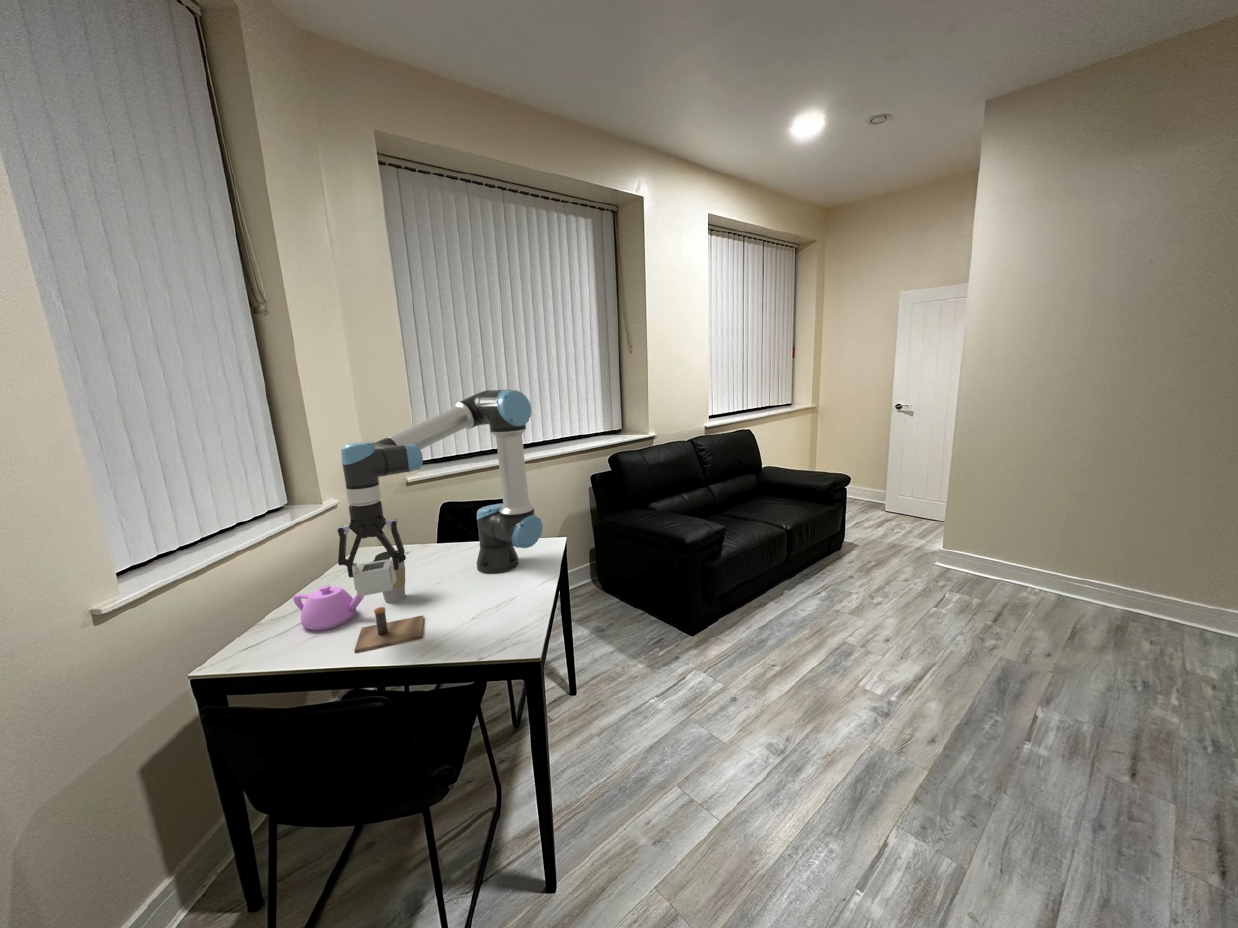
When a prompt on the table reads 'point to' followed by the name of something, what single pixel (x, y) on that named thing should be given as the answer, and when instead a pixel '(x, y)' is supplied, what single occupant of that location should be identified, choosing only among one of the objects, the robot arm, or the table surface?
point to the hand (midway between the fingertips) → (376, 584)
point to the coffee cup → (399, 586)
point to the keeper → (389, 631)
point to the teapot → (326, 607)
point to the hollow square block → (373, 578)
